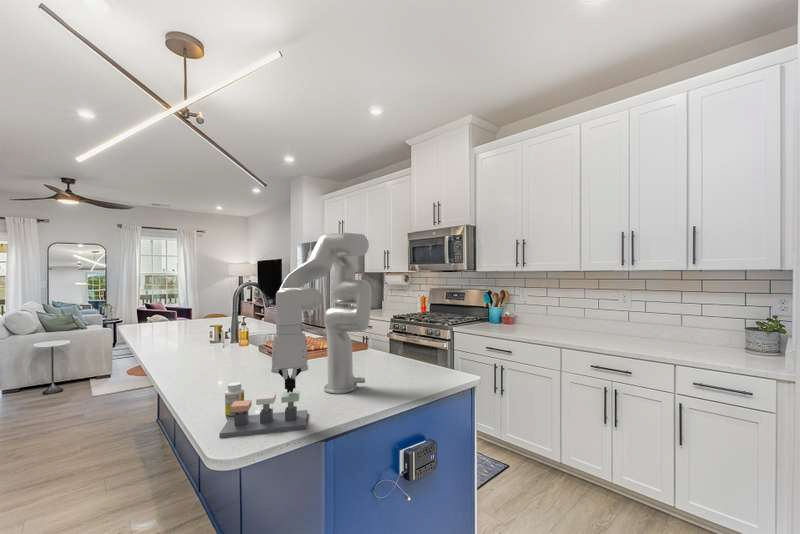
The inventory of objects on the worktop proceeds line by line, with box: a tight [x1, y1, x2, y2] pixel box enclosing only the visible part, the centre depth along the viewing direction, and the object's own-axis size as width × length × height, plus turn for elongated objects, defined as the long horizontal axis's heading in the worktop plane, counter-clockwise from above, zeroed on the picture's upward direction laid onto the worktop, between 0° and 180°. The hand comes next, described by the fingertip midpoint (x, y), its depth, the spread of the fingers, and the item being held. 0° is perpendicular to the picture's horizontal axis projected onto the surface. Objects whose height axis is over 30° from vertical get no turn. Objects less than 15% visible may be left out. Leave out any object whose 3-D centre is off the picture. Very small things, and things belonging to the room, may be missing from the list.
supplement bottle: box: [224, 381, 245, 420], centre depth 118 cm, size 6×6×10 cm
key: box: [231, 399, 253, 415], centre depth 109 cm, size 5×5×5 cm
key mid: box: [255, 392, 277, 412], centre depth 110 cm, size 5×5×5 cm
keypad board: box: [218, 405, 308, 439], centre depth 110 cm, size 23×12×4 cm, turn 102°
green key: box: [281, 390, 300, 410], centre depth 112 cm, size 5×5×5 cm
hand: (290, 391), depth 112 cm, fingers closed
